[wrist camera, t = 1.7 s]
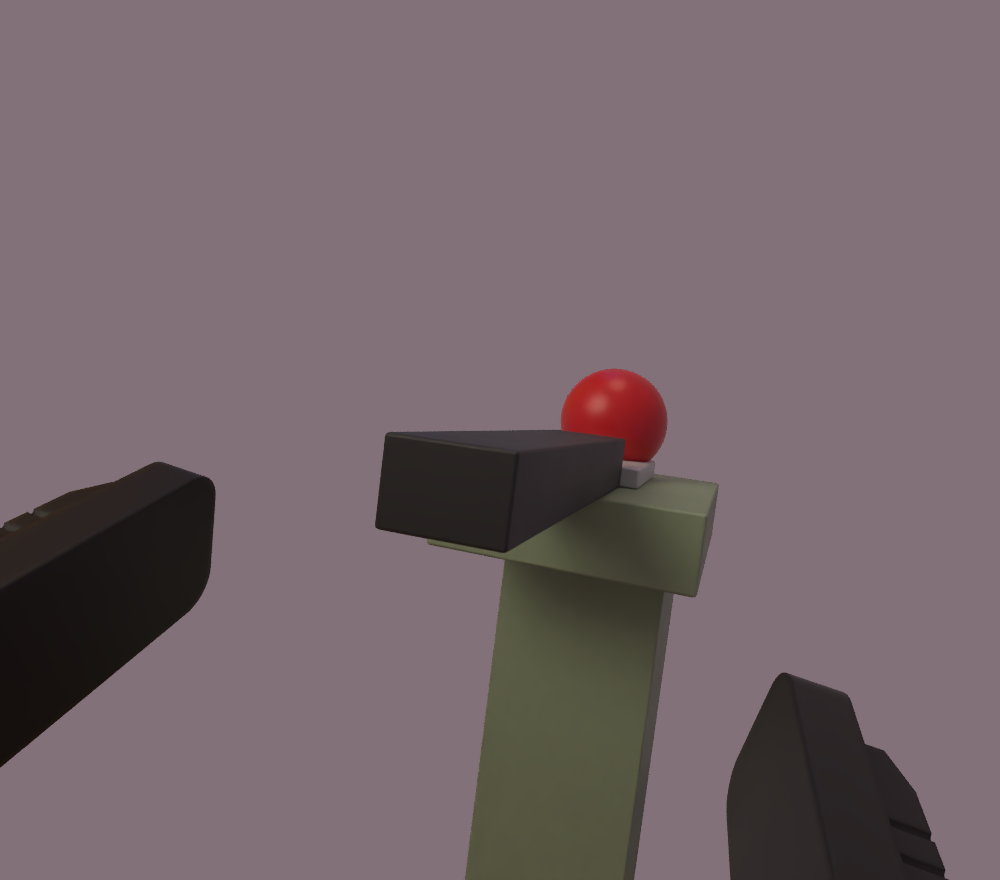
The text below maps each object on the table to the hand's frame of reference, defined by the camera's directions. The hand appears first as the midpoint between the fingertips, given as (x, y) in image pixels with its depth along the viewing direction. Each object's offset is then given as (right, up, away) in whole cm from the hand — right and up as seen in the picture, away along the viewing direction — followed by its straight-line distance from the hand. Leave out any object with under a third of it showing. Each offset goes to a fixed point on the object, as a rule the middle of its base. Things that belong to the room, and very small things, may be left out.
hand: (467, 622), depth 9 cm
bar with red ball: (+2, +1, +8) cm, 8 cm away
